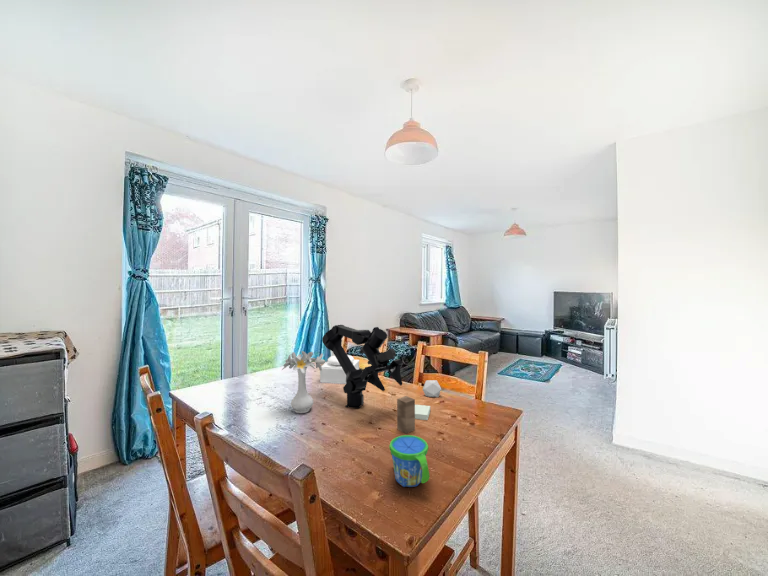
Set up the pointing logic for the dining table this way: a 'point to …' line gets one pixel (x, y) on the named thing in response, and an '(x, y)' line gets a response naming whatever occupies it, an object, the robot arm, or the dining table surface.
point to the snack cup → (409, 460)
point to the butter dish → (335, 371)
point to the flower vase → (302, 379)
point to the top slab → (422, 412)
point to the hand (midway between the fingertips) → (393, 387)
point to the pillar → (406, 414)
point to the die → (432, 388)
